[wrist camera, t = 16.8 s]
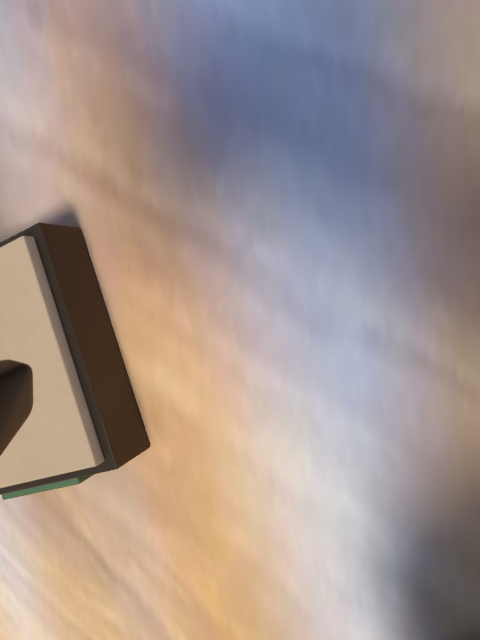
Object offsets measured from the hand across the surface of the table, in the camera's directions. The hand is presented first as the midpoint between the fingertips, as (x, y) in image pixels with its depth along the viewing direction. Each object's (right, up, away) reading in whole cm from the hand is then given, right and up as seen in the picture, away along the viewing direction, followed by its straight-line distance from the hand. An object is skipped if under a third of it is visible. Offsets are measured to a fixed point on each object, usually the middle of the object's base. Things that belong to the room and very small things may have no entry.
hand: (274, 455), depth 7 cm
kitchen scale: (-12, 0, +18) cm, 22 cm away
